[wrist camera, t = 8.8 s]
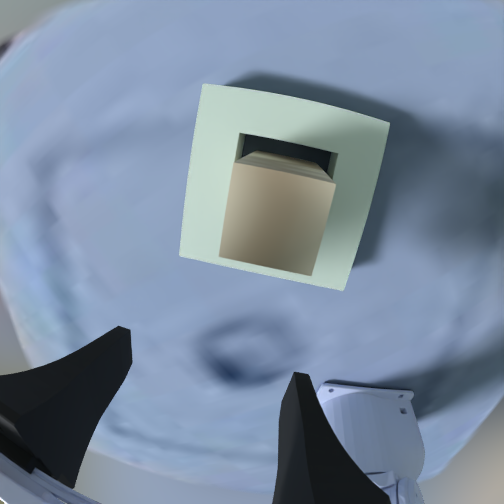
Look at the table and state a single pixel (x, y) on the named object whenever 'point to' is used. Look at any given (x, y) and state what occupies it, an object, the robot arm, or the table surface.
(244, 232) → the peg
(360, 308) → the table surface
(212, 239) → the socket block
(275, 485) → the robot arm
